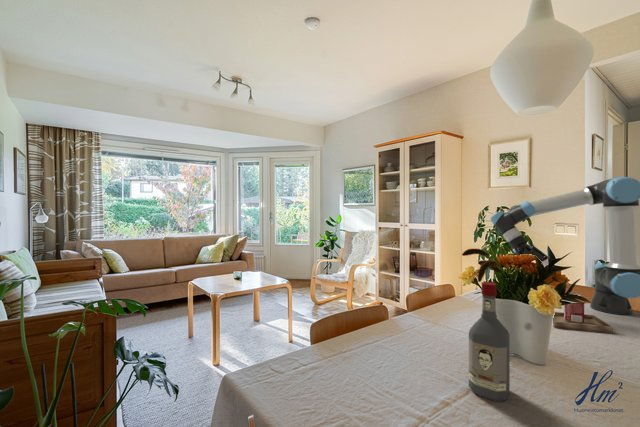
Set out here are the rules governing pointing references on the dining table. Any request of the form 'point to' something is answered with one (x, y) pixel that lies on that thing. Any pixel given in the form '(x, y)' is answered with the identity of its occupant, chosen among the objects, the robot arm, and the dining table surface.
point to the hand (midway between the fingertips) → (545, 276)
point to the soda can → (574, 312)
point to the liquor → (489, 350)
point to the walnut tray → (582, 324)
